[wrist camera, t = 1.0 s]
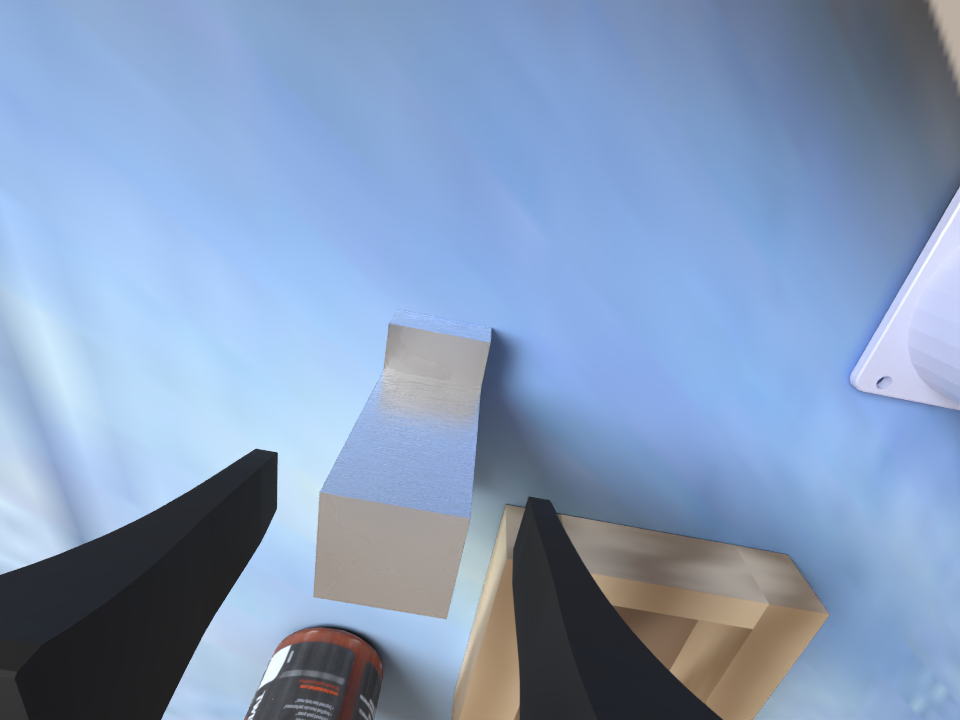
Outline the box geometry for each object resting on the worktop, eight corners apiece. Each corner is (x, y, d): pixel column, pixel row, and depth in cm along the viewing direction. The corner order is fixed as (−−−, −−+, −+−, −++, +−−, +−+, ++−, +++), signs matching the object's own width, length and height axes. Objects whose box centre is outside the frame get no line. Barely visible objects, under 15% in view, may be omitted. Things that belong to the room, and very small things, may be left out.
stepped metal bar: (491, 327, 18) (484, 457, 10) (459, 476, 20) (436, 661, 13) (397, 309, 17) (323, 428, 10) (378, 462, 20) (310, 640, 13)
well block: (788, 554, 21) (829, 614, 19) (676, 730, 27) (696, 796, 24) (505, 504, 21) (506, 558, 18) (453, 694, 27) (448, 758, 24)
